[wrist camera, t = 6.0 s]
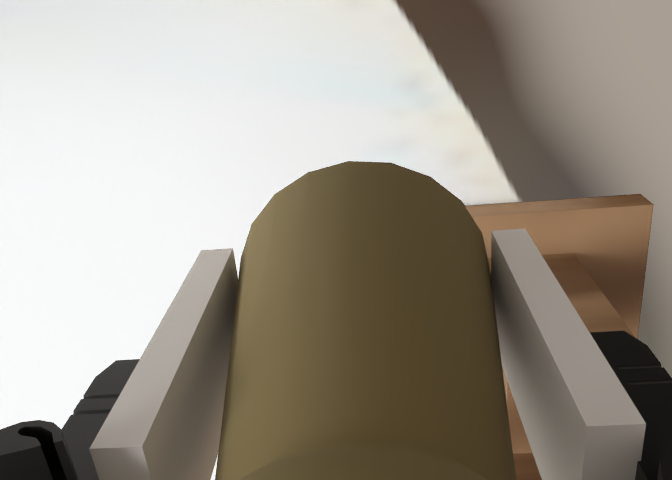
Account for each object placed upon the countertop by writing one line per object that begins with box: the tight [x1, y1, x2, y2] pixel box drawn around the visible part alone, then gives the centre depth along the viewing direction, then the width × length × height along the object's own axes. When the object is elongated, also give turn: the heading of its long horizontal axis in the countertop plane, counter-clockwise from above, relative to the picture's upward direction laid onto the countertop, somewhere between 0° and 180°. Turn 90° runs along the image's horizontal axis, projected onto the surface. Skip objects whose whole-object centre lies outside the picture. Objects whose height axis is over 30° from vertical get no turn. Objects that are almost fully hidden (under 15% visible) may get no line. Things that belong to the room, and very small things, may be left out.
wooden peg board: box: [465, 194, 653, 480], centre depth 28 cm, size 20×12×14 cm, turn 5°
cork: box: [215, 161, 516, 480], centre depth 10 cm, size 6×6×11 cm
